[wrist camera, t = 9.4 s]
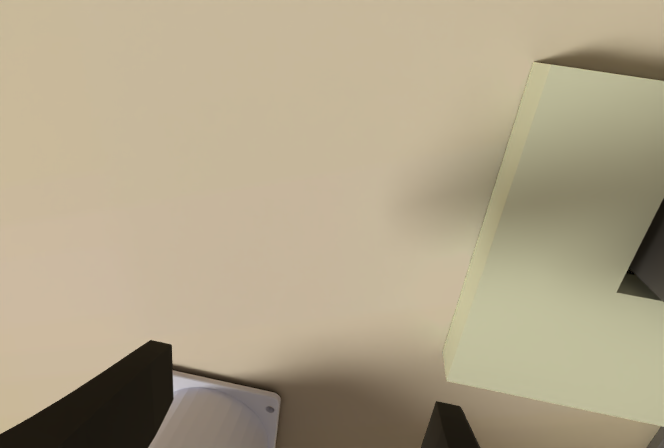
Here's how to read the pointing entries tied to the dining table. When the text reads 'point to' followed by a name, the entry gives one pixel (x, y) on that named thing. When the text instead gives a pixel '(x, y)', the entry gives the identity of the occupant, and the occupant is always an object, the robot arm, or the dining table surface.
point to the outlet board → (569, 252)
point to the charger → (652, 255)
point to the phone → (658, 439)
